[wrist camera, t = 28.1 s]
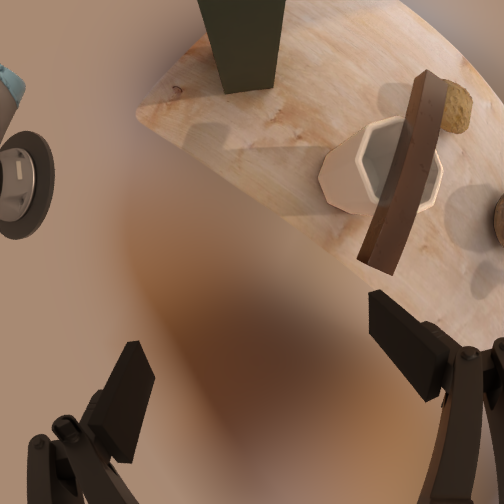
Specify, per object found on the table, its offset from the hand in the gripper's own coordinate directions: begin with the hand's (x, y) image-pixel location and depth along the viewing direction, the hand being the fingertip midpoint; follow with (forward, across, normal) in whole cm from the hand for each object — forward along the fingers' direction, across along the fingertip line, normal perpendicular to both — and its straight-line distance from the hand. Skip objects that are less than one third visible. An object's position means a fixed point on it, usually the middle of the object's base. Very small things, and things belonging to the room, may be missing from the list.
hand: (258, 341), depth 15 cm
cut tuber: (+31, +41, +16) cm, 54 cm away
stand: (+35, +7, +27) cm, 45 cm away
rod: (+12, +18, +7) cm, 23 cm away
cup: (+31, +20, +5) cm, 37 cm away
